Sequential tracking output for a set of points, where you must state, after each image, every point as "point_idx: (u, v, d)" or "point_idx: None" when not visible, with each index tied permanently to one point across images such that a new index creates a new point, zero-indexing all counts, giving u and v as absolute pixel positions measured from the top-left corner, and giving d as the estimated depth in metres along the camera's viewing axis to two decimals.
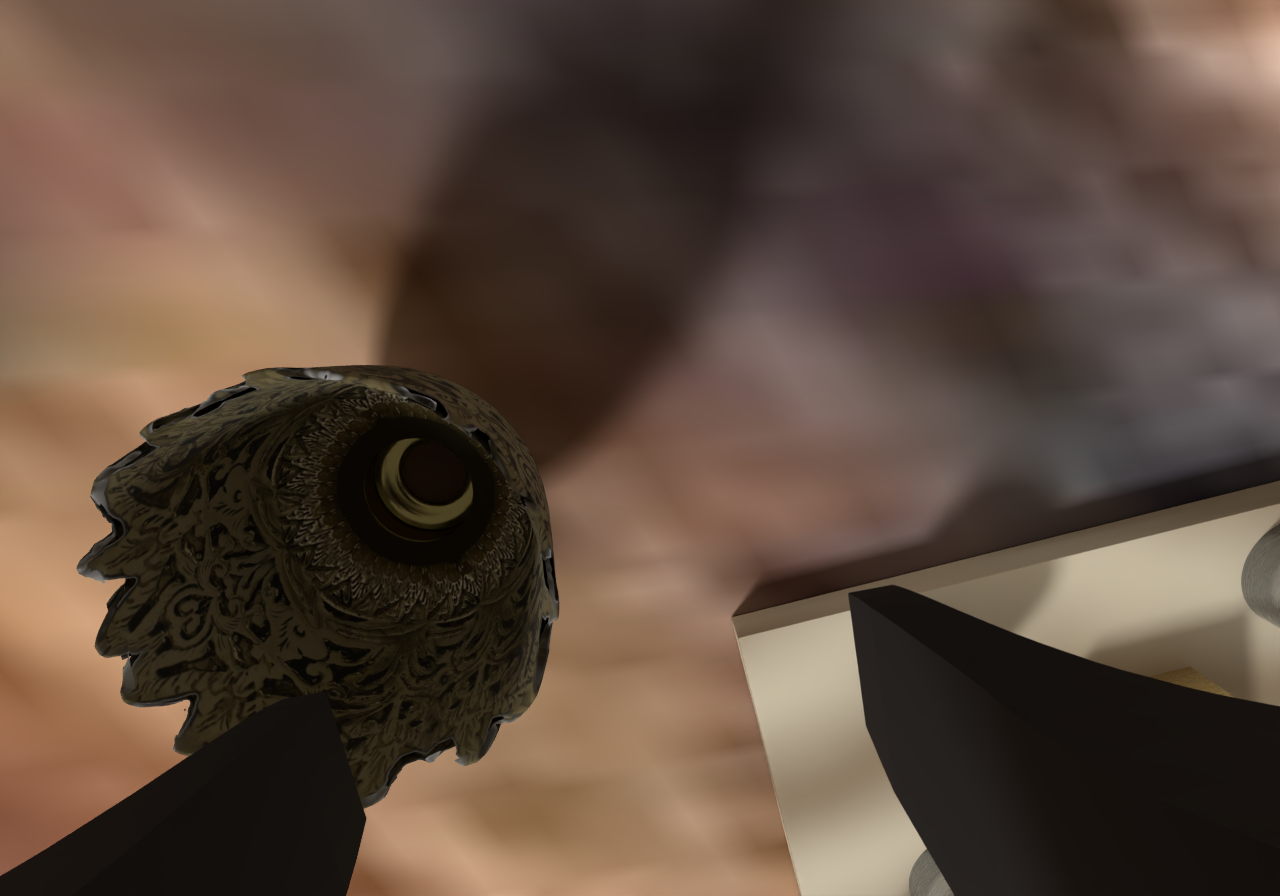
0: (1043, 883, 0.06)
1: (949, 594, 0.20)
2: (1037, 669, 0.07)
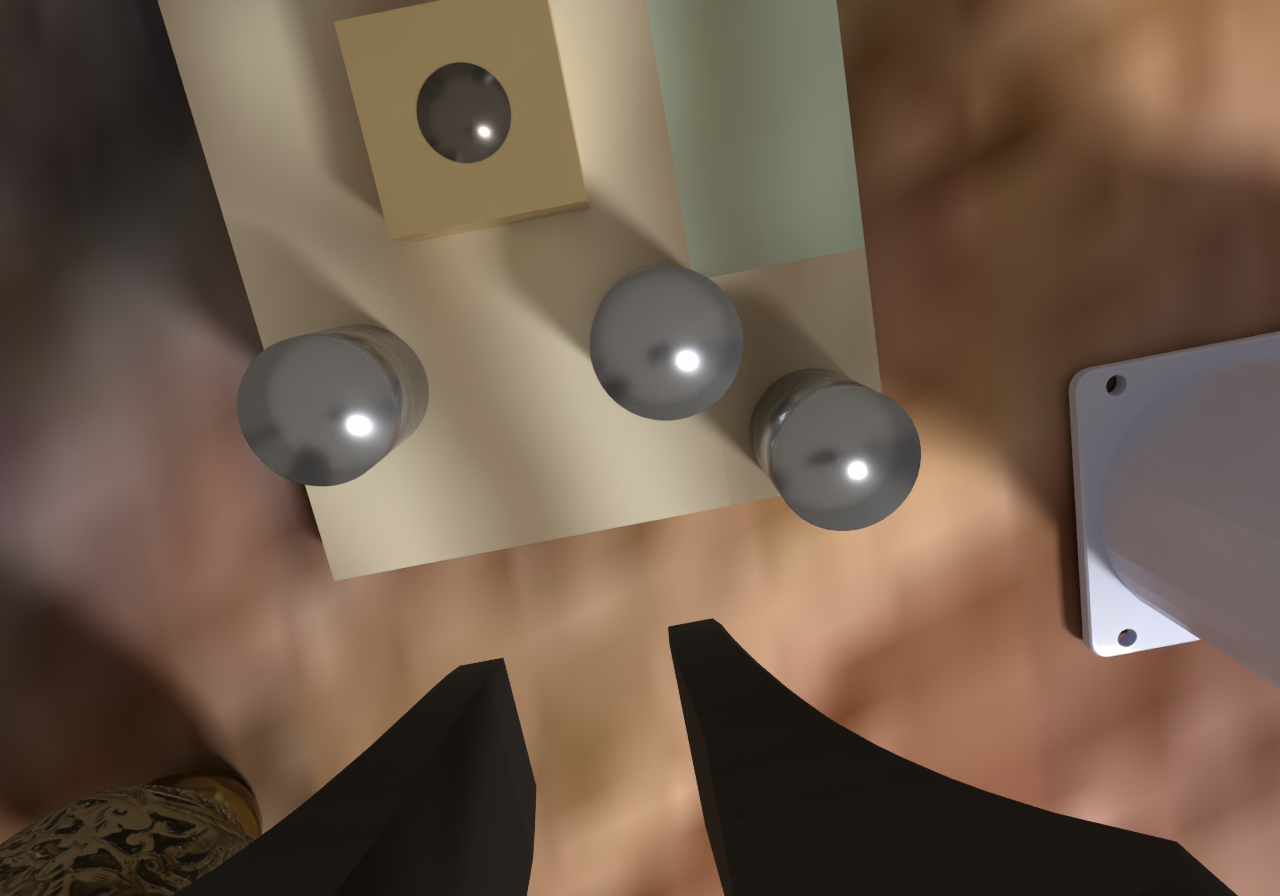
0: None
1: None
2: (765, 719, 0.07)
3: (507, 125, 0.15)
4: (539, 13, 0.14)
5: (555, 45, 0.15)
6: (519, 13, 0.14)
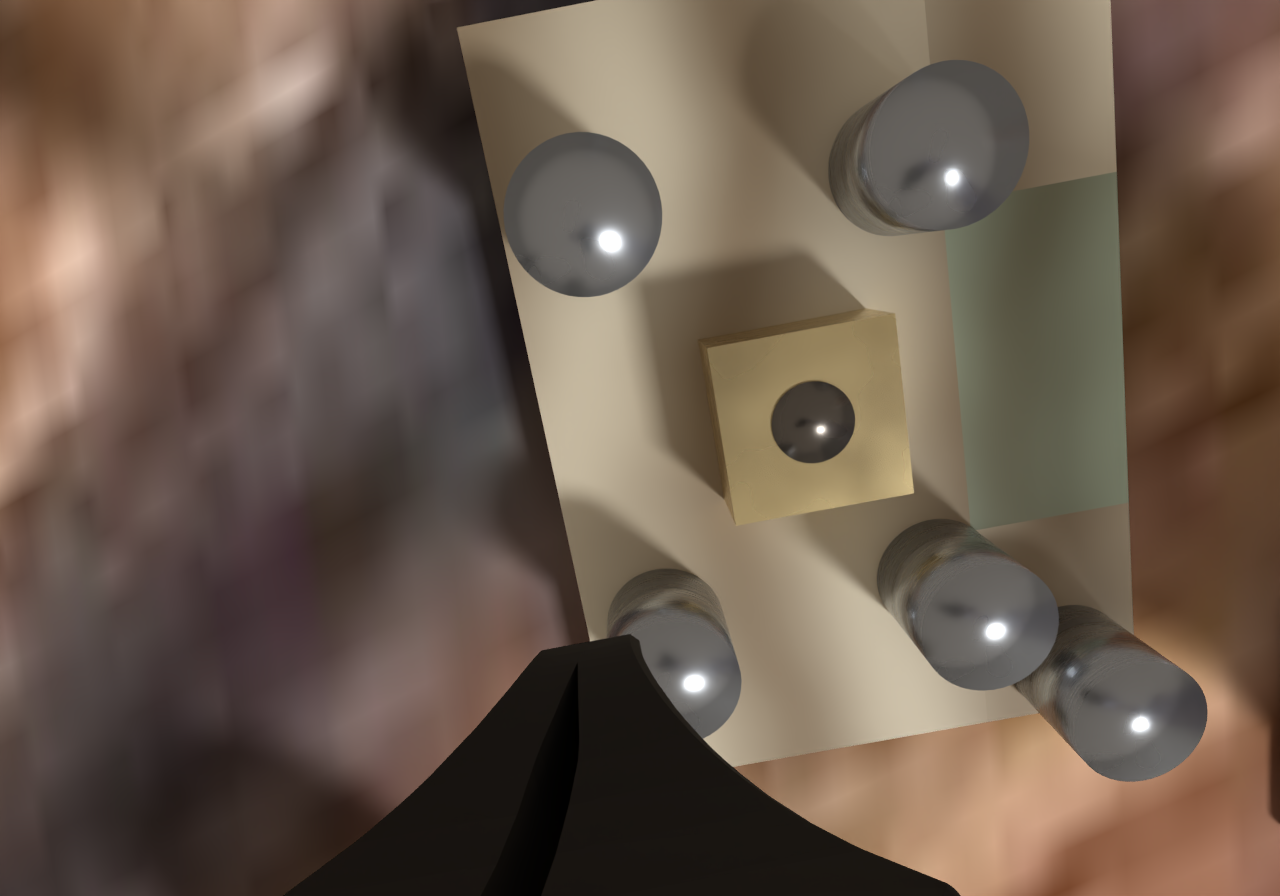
0: None
1: (590, 598, 0.20)
2: (640, 742, 0.07)
3: (849, 432, 0.17)
4: (888, 340, 0.16)
5: (898, 365, 0.16)
6: (871, 341, 0.16)
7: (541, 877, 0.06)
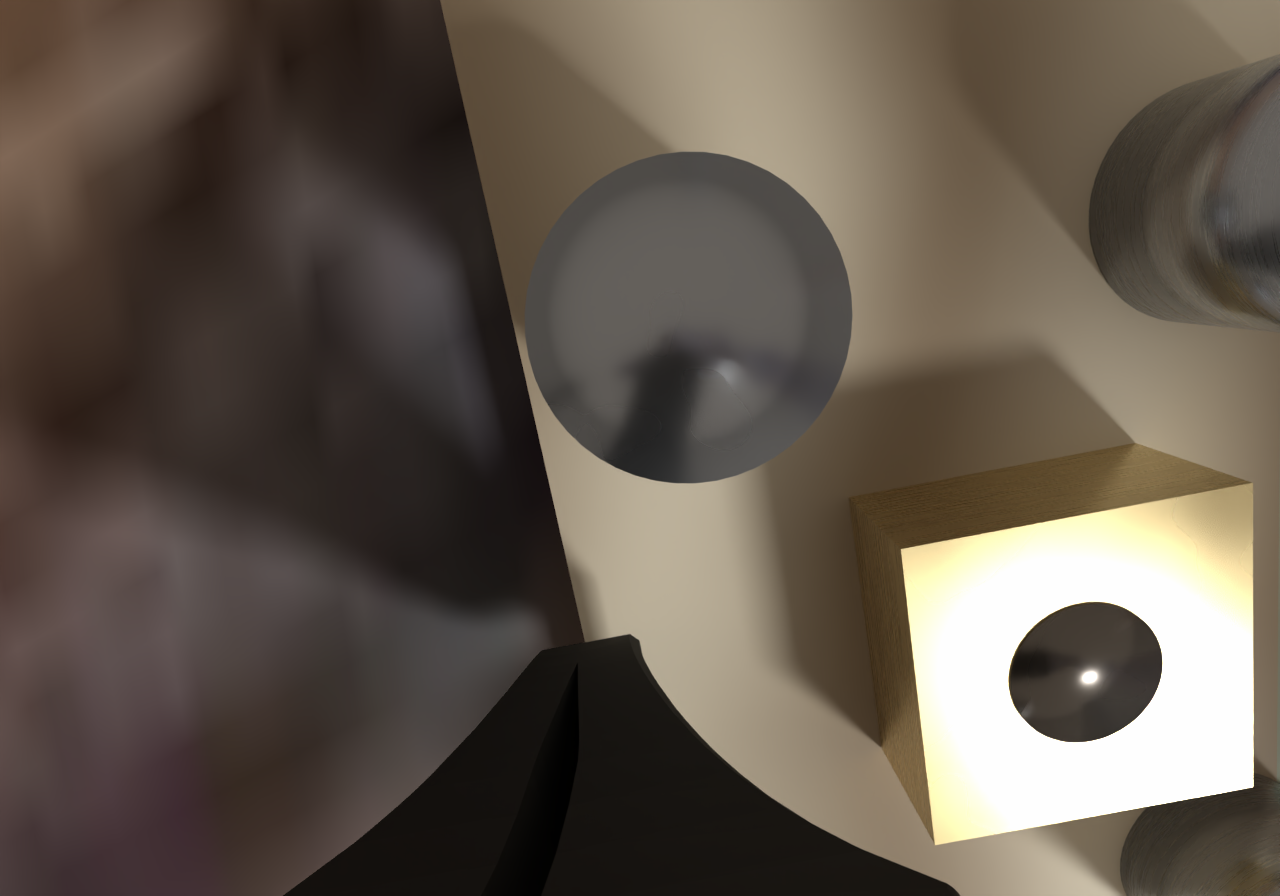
0: None
1: None
2: (640, 743, 0.07)
3: (1149, 688, 0.09)
4: (1234, 530, 0.09)
5: (1247, 573, 0.09)
6: (1204, 532, 0.09)
7: (541, 877, 0.06)
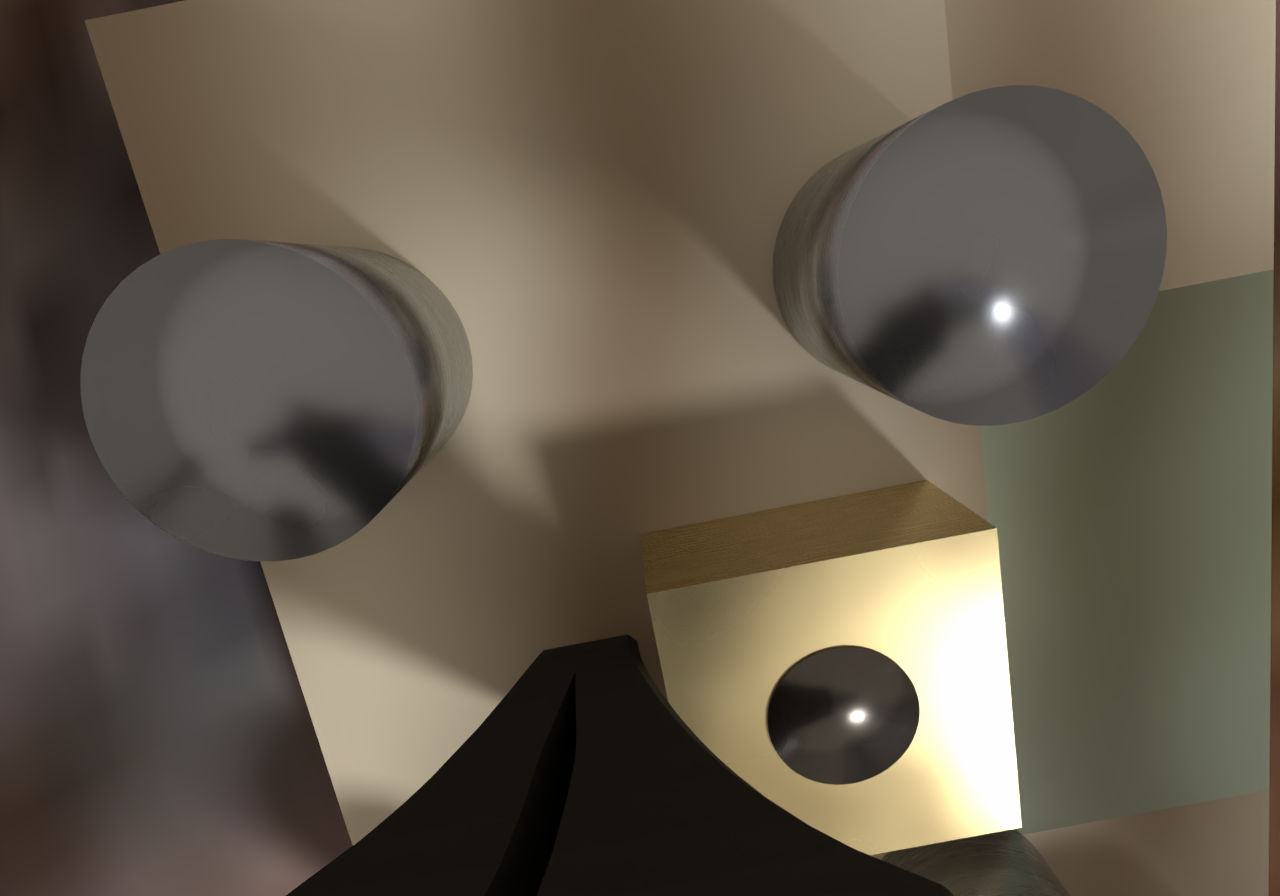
0: None
1: None
2: (637, 743, 0.07)
3: (909, 731, 0.09)
4: (982, 575, 0.09)
5: (1000, 616, 0.09)
6: (951, 577, 0.09)
7: None
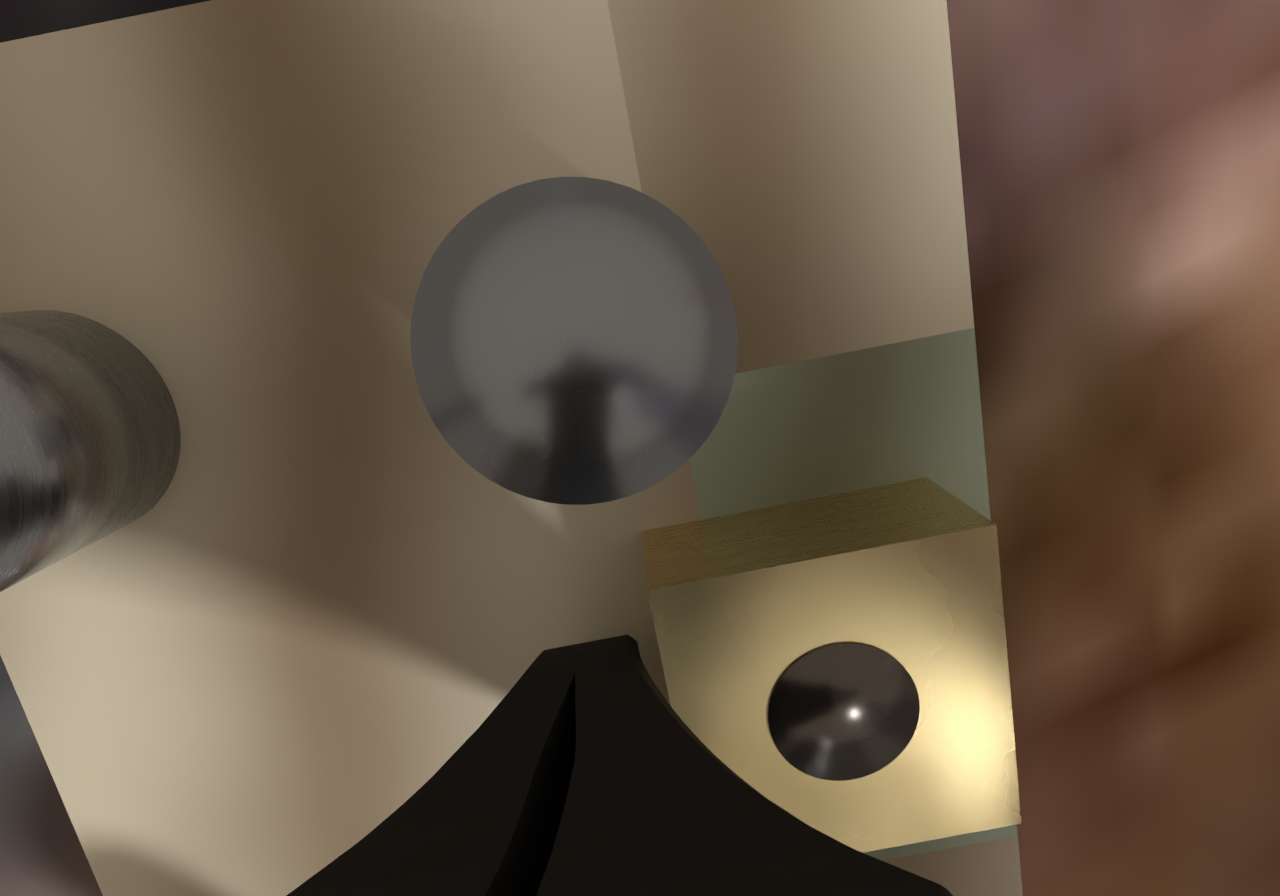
0: None
1: None
2: (636, 743, 0.07)
3: (910, 727, 0.09)
4: (982, 571, 0.09)
5: (999, 612, 0.09)
6: (951, 573, 0.09)
7: None
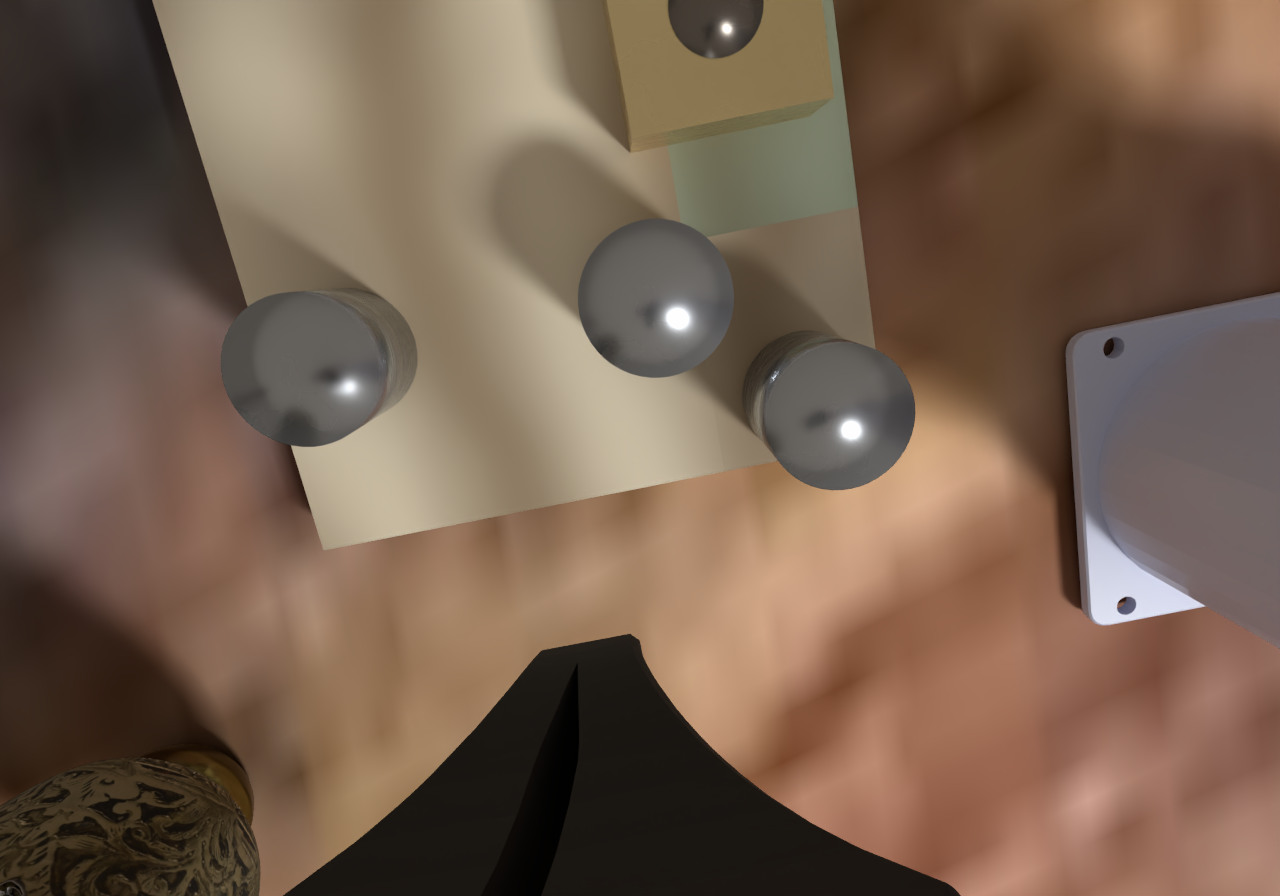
0: None
1: None
2: (640, 743, 0.07)
3: (758, 19, 0.15)
4: None
5: None
6: None
7: (541, 878, 0.06)
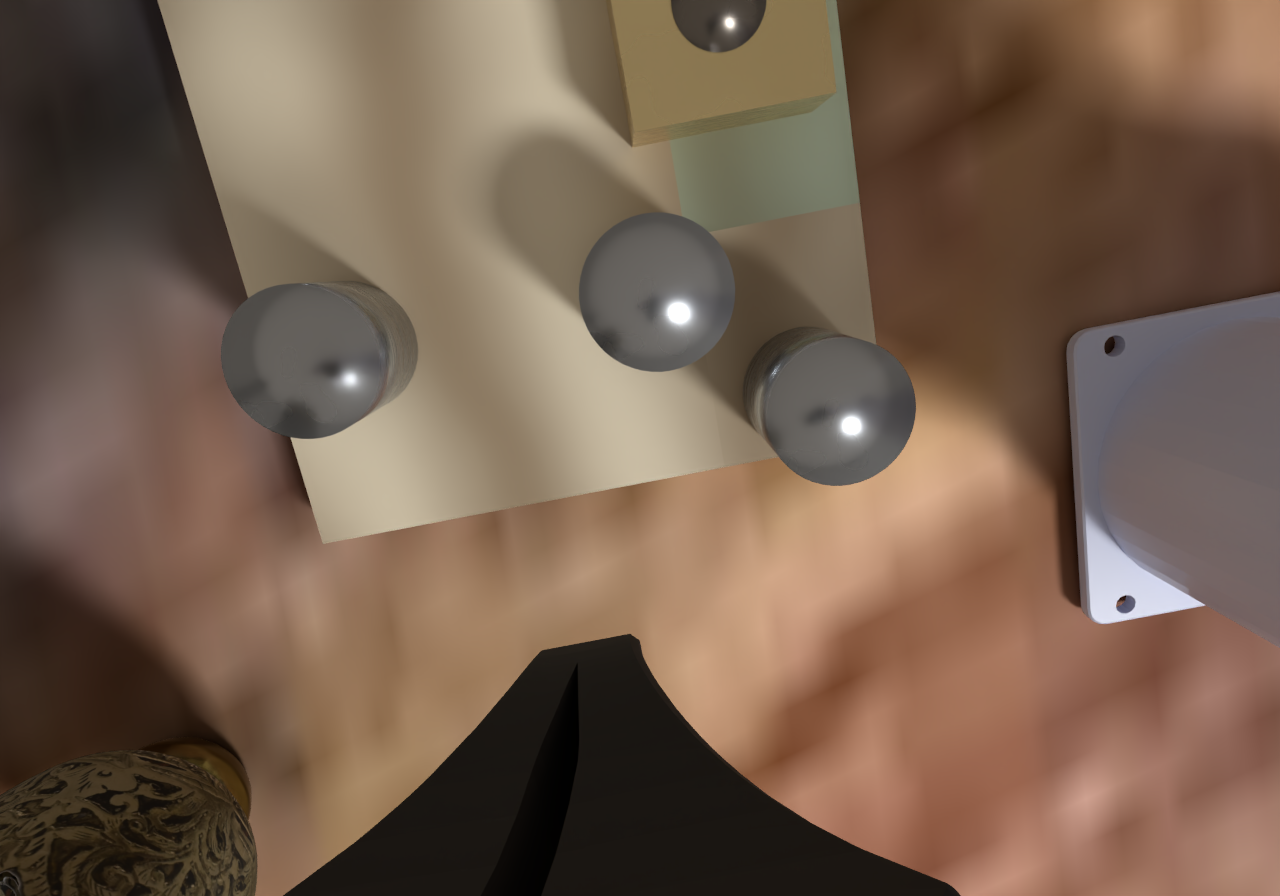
0: None
1: None
2: (640, 743, 0.07)
3: (761, 13, 0.15)
4: None
5: None
6: None
7: (541, 877, 0.06)
